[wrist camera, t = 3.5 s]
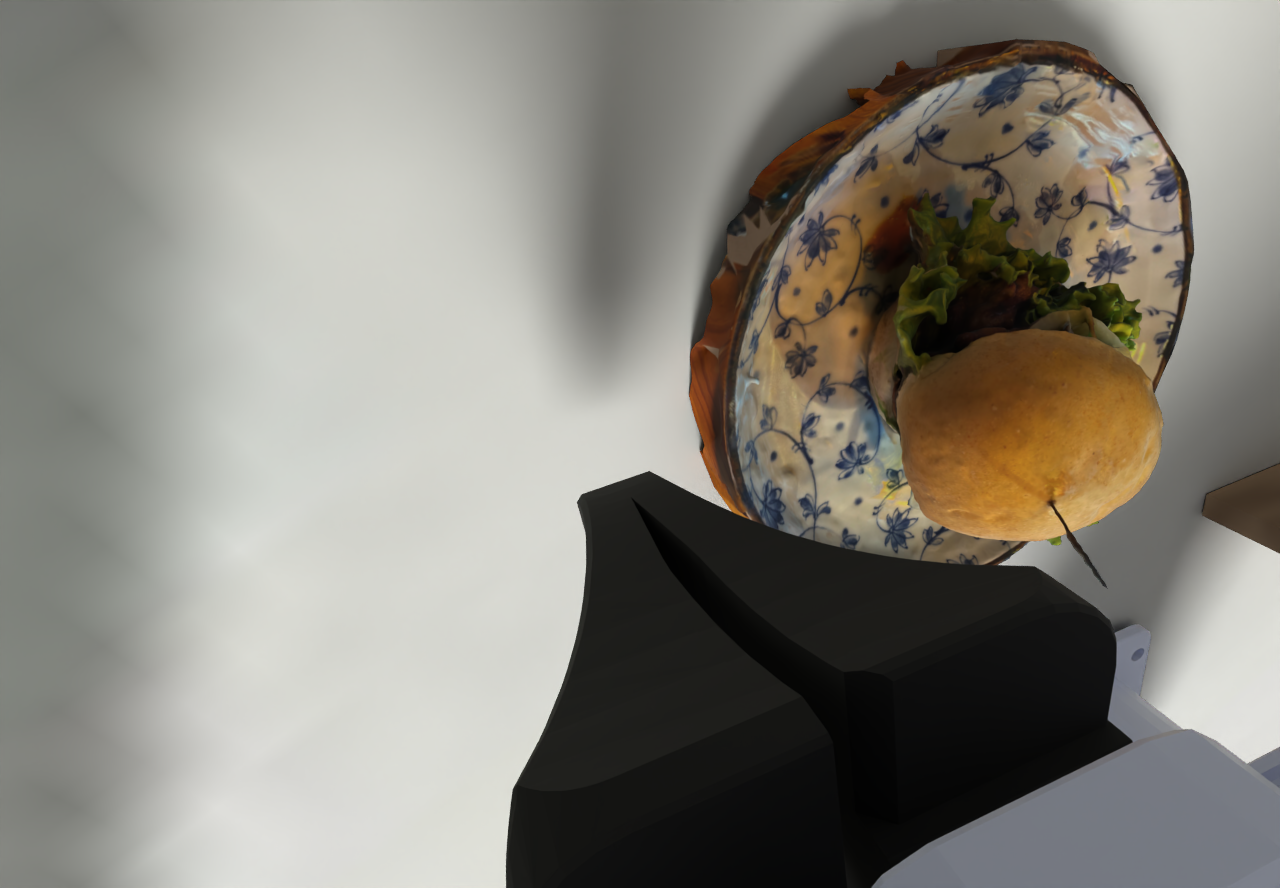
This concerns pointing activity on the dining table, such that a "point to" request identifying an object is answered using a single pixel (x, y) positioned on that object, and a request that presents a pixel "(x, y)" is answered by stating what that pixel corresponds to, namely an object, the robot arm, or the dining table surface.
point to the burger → (951, 312)
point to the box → (1249, 507)
